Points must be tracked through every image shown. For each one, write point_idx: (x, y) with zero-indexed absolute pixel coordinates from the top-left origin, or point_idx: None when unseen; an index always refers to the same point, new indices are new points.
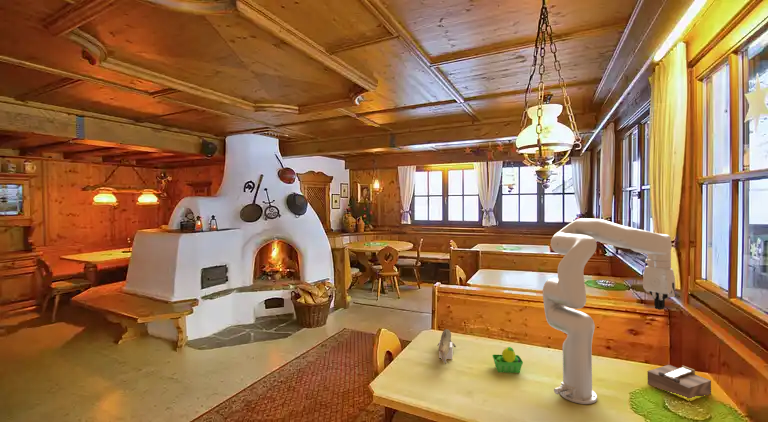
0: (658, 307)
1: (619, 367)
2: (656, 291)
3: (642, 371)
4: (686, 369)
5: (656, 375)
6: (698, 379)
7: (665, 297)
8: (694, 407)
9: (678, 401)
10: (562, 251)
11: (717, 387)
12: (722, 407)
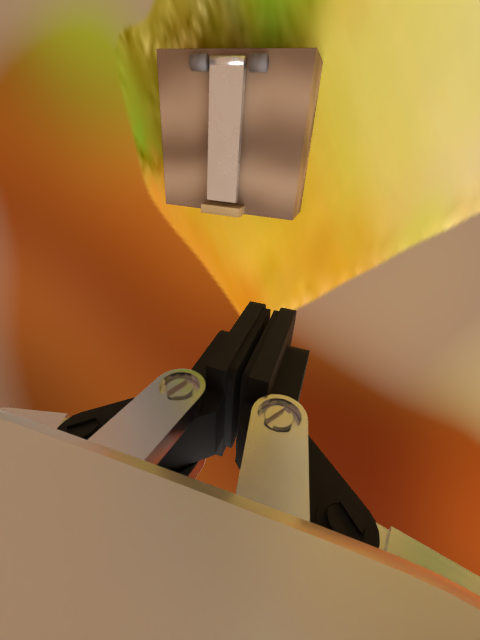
0: (250, 309)
1: (476, 113)
2: (102, 465)
3: (381, 171)
4: (220, 195)
5: (276, 50)
6: (183, 173)
7: (104, 408)
8: (158, 34)
9: (198, 22)
10: None
11: (200, 257)
12: (135, 131)
